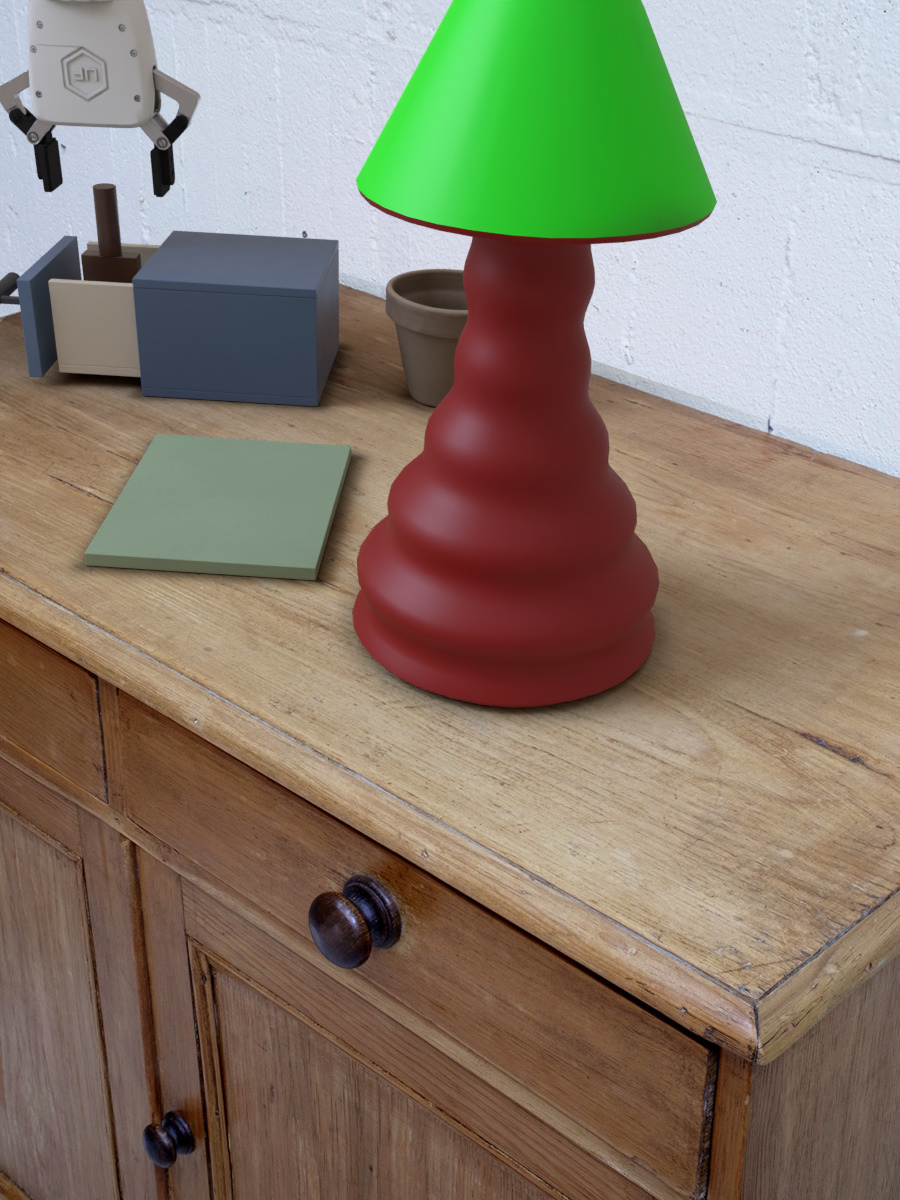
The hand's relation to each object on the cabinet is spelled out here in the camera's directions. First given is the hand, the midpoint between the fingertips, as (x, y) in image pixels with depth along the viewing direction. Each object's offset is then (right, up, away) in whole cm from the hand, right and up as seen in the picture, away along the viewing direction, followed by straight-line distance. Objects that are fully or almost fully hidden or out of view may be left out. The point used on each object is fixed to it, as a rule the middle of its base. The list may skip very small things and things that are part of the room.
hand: (108, 190), depth 115 cm
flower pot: (+30, -18, +4) cm, 35 cm away
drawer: (-2, -13, +7) cm, 15 cm away
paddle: (-1, -12, +7) cm, 14 cm away
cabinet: (+11, -15, +7) cm, 19 cm away
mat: (+13, -29, -16) cm, 36 cm away
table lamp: (+34, -38, -29) cm, 58 cm away
